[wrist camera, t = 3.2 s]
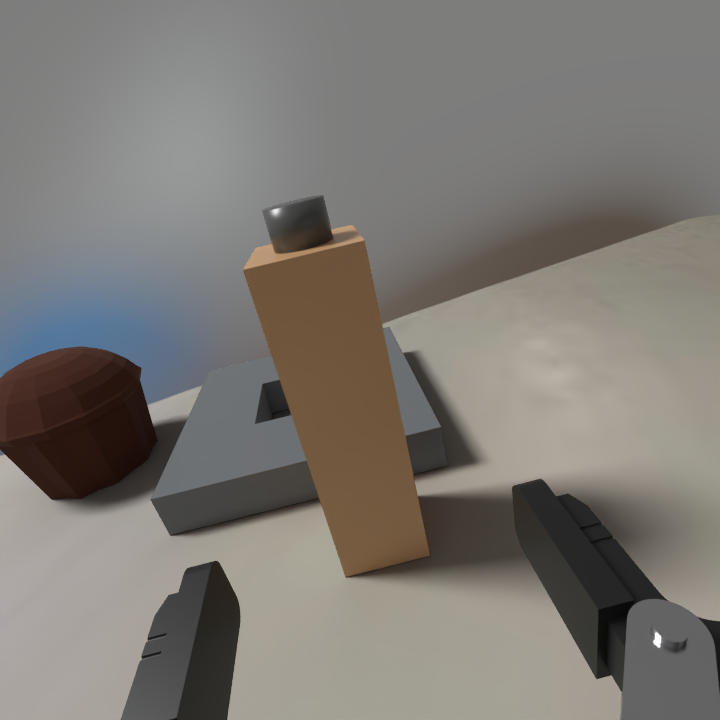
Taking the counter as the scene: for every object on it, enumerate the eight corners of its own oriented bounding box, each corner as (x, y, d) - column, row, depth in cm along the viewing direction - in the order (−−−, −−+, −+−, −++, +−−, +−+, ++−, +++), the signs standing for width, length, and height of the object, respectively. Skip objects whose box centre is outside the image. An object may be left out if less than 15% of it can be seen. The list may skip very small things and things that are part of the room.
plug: (411, 495, 26) (343, 186, 19) (430, 555, 22) (354, 192, 15) (339, 514, 26) (243, 210, 19) (345, 577, 22) (227, 223, 15)
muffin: (186, 412, 43) (143, 317, 38) (151, 488, 33) (88, 370, 28) (65, 442, 42) (8, 350, 38) (-8, 529, 32) (-96, 416, 28)
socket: (394, 354, 44) (389, 326, 43) (447, 465, 28) (441, 426, 27) (220, 397, 44) (209, 371, 43) (169, 535, 28) (150, 499, 26)
